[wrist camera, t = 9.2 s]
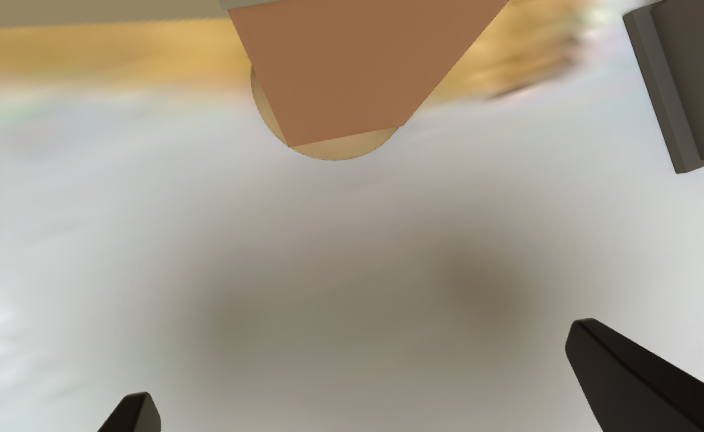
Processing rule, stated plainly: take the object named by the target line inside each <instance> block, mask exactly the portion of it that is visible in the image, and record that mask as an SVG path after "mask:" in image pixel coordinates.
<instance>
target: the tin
mask: <svg viewBox="0 0 704 432" xmlns="http://www.w3.org/2000/svg"><path fill="white" fill-rule="evenodd" d="M508 1H509V0H219V3H220V4H221V7H222V9H223V10H226V9H227V10H228V12H229V15H230V17H231V19H232V21H233V24H234V26H235V28H236V30H237V33H238V35H239V37H240V39H241V42H242V44H243V46H244V48H245V51H246V53H247V55H248V57H249V60H250V62H251V64H252V66H253V69H254V71H255V73H256V75H257V78H258V80H259V82H260V84H261V87H262V89H263V91H264V93H265V96H266V98H267V100H268V102H269V105H270V107H271V109H272V111H273V114H274V116H275V118H276V120H277V123H278V125H279V127H280V129H281V132H282V134H283V136H284V138H285V141H286V143H287V145H288V147H294V146H300V145H305V144H310V143H315V142H320V141H325V140H330V139H335V138H341V137H346V136H351V135H356V134H361V133H366V132H371V131H376V130H382V129H387V128H392V127H397V126H402V125H404V124H405V123H406V121H407V120H408V119H409V118H410V117H411V115H412V114H413V113H414V112H415V111H416V110H417V108H418V107H419V106H420V105H421V104H422V103H423V101H424V100H425V99H426V98H427V97H428V95H429V94H430V93H431V92H432V91H433V90H434V88H435V87H436V86H437V85H438V84H439V82H440V81H441V80H442V79H443V78H444V77H445V75H446V74H447V73H448V72H449V71H450V70H451V68H452V67H453V66H454V65H455V64H456V62H457V61H458V60H459V59H460V58H461V57H462V55H463V54H464V53H465V52H466V51H467V50H468V48H469V47H470V46H471V45H472V44H473V42H474V41H475V40H476V39H477V38H478V37H479V35H480V34H481V33H482V32H483V31H484V29H485V28H486V27H487V26H488V25H489V24H490V22H491V21H492V20H493V19H494V18H495V17H496V15H497V14H498V13H499V12H500V11H501V9H502V8H503V7H504V6H505V5H506V4H507V2H508Z"/></svg>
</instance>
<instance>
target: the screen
mask: <svg viewBox="0 0 704 432" xmlns="http://www.w3.org/2000/svg"><path fill="white" fill-rule="evenodd" d="M623 19H624V22H625V25H626V28H627V31H628V34H629V37H630V39H631V42H632V45H633V48H634V51H635V54H636V57H637V60H638V63H639V66H640V68H641V71H642V74H643V77H644V80H645V83H646V86H647V89H648V92H649V95H650V97H651V100H652V103H653V106H654V109H655V112H656V115H657V118H658V121H659V124H660V127H661V129H662V132H663V135H664V138H665V141H666V144H667V147H668V150H669V153H670V156H671V158H672V161H673V164H674V167H675V170H676V173H677V174H680V173H687V172H690V171H693V170H695V169H698V168H701V167H703V166H704V0H663V1H660V2H657V3H654V4H651V5H648V6H645V7H642V8H639V9H636V10H633V11H631V12H629V13H628V14H627V15H625V16H624V17H623Z"/></svg>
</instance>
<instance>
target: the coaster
mask: <svg viewBox="0 0 704 432" xmlns="http://www.w3.org/2000/svg"><path fill="white" fill-rule="evenodd" d="M251 85H252V91H253V96H254V99H255V102H256V105H257V108H258V110H259V112H260V114H261V116H262V118H263V119H264V121H265V122H266V124H267V125H268V127H269V128H270V130H271V131H272V132H273V133H274V134H275V135H276V136H277V137H278V138H279V139H280V140H281V141H282V142H283V143H285V144H286V145H287V143H286V141H285V138H284V136H283V134H282V132H281V129H280V127H279V125H278V123H277V120H276V118H275V116H274V114H273V111H272V109H271V107H270V105H269V102H268V100H267V98H266V96H265V93H264V91H263V89H262V87H261V84H260V82H259V80H258V78H257V75H256V73H255V71H254V69H253V66H252V65H251ZM398 127H399V126H397V127H392V128H387V129H382V130H376V131H371V132H366V133H361V134H356V135H351V136H346V137H341V138H335V139H330V140H325V141H320V142H315V143H310V144H305V145H300V146H294V147H291V148H292V149H294V150H296V151H298V152H300V153H302V154H304V155H307V156H310V157H313V158H318V159H323V160H346V159H351V158H355V157H358V156H361V155H364V154H366V153H368V152H370V151H372V150H374V149H376V148H377V147H379V146H380V145H382V144H383V143H384V142H385V141H386V140H388V139H389V138H390V137H391V136H392V134H393V133H394V132H395V131H396V130H397V129H398Z"/></svg>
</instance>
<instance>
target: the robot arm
mask: <svg viewBox="0 0 704 432" xmlns="http://www.w3.org/2000/svg"><path fill="white" fill-rule="evenodd" d="M565 351H566V355H567V358H568V360H569V362H570V364H571V366H572V368H573V371H574V373H575V375H576V377H577V379H578V381H579V384H580V386H581V388H582V390H583V392H584V394H585V396H586V399H587V401H588V403H589V405H590V407H591V409H592V411H593V413H594V416H595V418H596V420H597V421H598V423H599V425H600V427H601V429H602V430H603V432H704V383H703V382H702V381H700V380H698V379H696V378H695V377H693V376H691V375H690V374H688V373H686V372H684V371H683V370H681V369H679V368H678V367H676V366H674V365H673V364H671V363H669V362H667V361H666V360H664V359H662V358H661V357H659V356H657V355H656V354H654V353H652V352H650V351H649V350H647V349H645V348H644V347H642V346H640V345H639V344H637V343H635V342H633V341H632V340H630V339H628V338H627V337H625V336H623V335H622V334H620V333H618V332H616V331H615V330H613V329H611V328H610V327H608V326H606V325H604V324H603V323H601V322H599V321H598V320H596V319H593V318H586V319H580V320H575V321H574V322H573V323H572V325H571V328H570V331H569V334H568V338H567V341H566V344H565ZM98 432H161V419H160V415H159V413H158V411H157V408H156V406H155V404H154V402H153V400H152V397H151V395H150V394H149V393H148V392H139V393H133V394H129V395H127V396H125V397H124V398H123V399H122V400H121V402H120V403H119V404H118V405H117V407H116V408H115V409H114V411H113V412H112V413H111V415H110V416H109V417H108V419H107V420H106V421H105V422H104V424H103V425H102V426H101V428H100V429H99V430H98Z"/></svg>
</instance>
